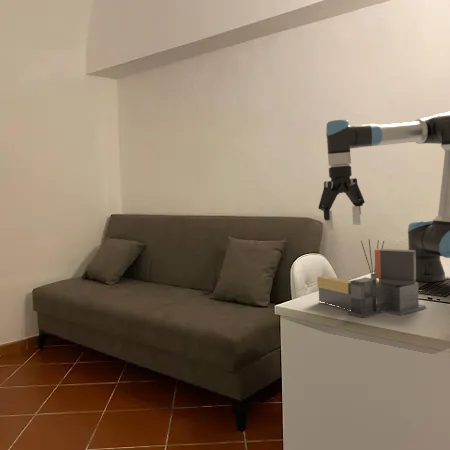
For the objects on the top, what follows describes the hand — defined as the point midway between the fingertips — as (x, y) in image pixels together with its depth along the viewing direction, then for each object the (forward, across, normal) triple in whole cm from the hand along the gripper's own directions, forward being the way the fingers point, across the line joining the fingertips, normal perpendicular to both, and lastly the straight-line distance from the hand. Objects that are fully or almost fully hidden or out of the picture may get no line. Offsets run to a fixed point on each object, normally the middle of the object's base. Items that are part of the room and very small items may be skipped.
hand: (343, 227), depth 174 cm
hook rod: (+19, +12, +6) cm, 23 cm away
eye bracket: (+25, +12, +10) cm, 29 cm away
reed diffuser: (+26, -9, +5) cm, 28 cm away
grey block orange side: (+17, 0, +21) cm, 26 cm away
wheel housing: (+25, 0, +21) cm, 33 cm away
